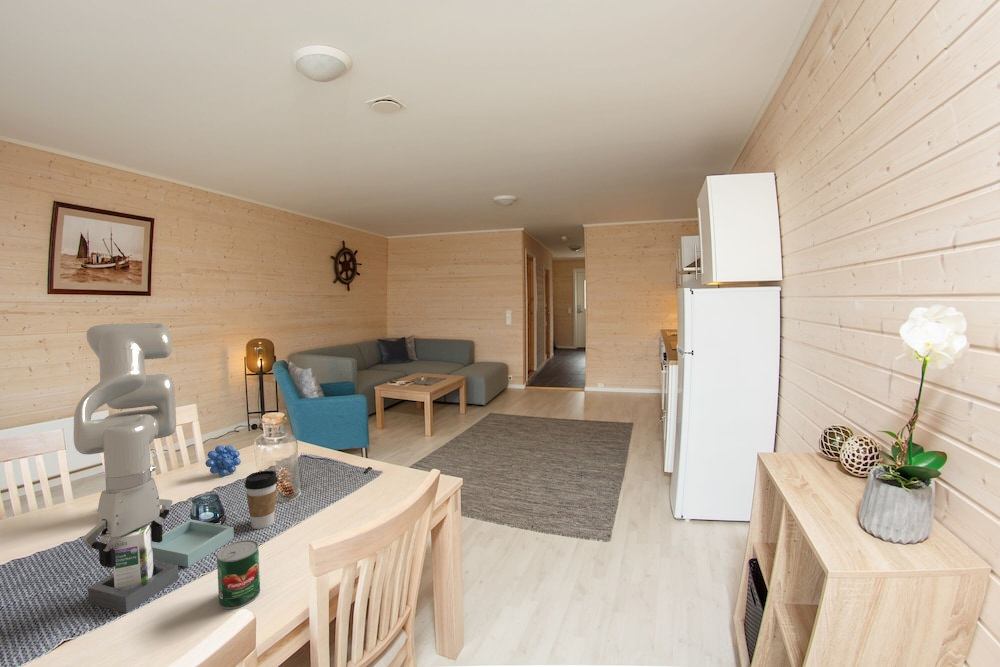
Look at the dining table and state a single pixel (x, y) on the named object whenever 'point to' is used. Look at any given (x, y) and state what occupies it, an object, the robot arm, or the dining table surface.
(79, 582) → the dining table surface
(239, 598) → the canned tomato
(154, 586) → the collar
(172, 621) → the dining table surface
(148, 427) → the robot arm
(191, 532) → the tray
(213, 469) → the grapes
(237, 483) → the dining table surface
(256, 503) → the coffee cup
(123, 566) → the syrup box
